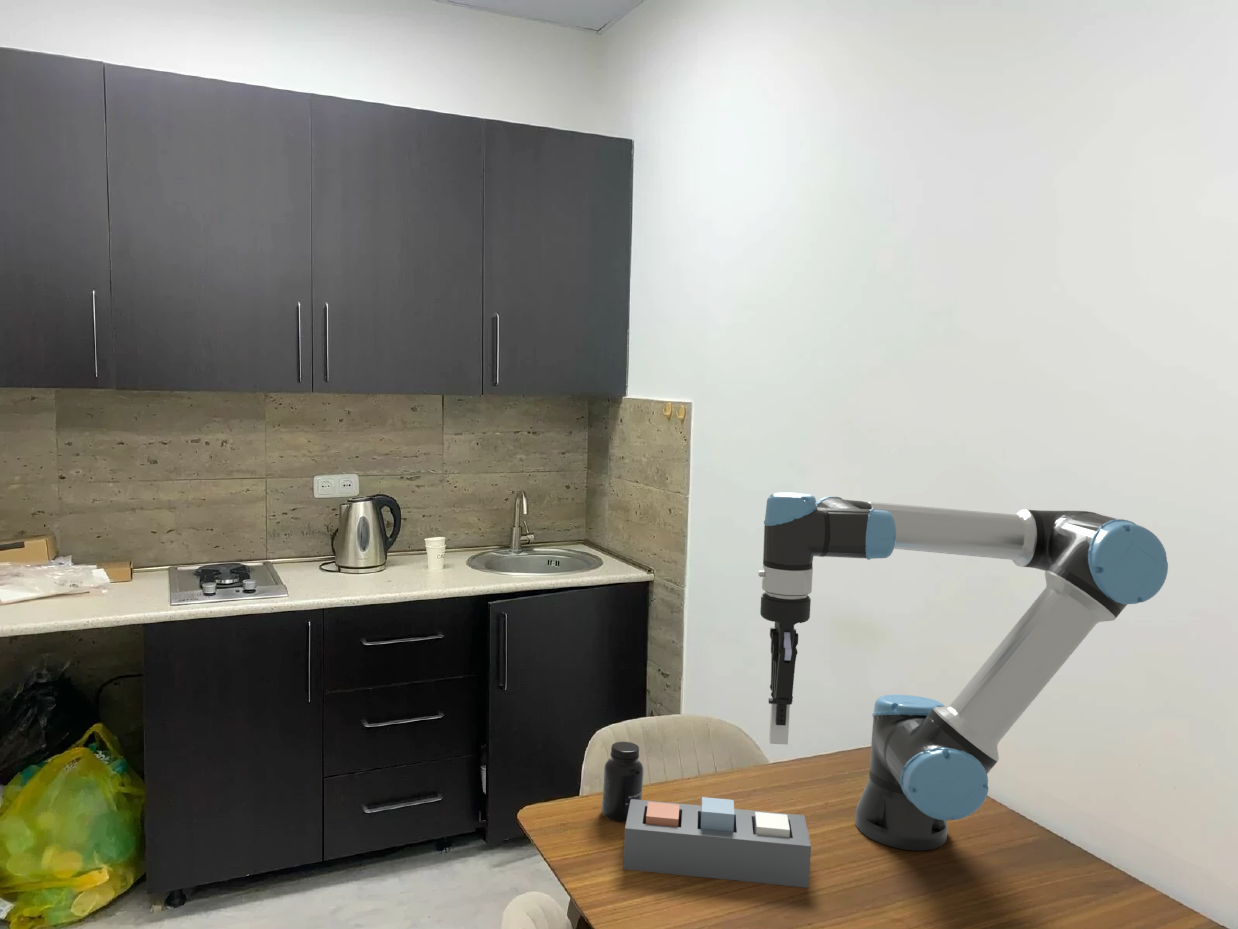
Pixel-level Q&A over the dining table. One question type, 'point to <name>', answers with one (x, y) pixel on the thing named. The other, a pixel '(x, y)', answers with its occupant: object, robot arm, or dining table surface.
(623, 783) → the supplement bottle
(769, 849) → the console
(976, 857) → the dining table surface
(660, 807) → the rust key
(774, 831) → the white key
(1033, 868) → the dining table surface
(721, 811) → the blue key
